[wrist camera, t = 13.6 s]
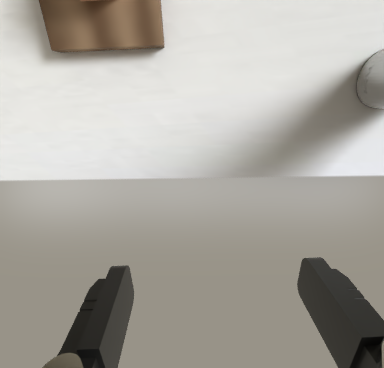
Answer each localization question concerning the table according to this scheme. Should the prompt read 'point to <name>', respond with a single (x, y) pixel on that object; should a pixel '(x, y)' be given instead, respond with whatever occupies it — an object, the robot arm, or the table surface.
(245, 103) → the table surface
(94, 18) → the walnut base
